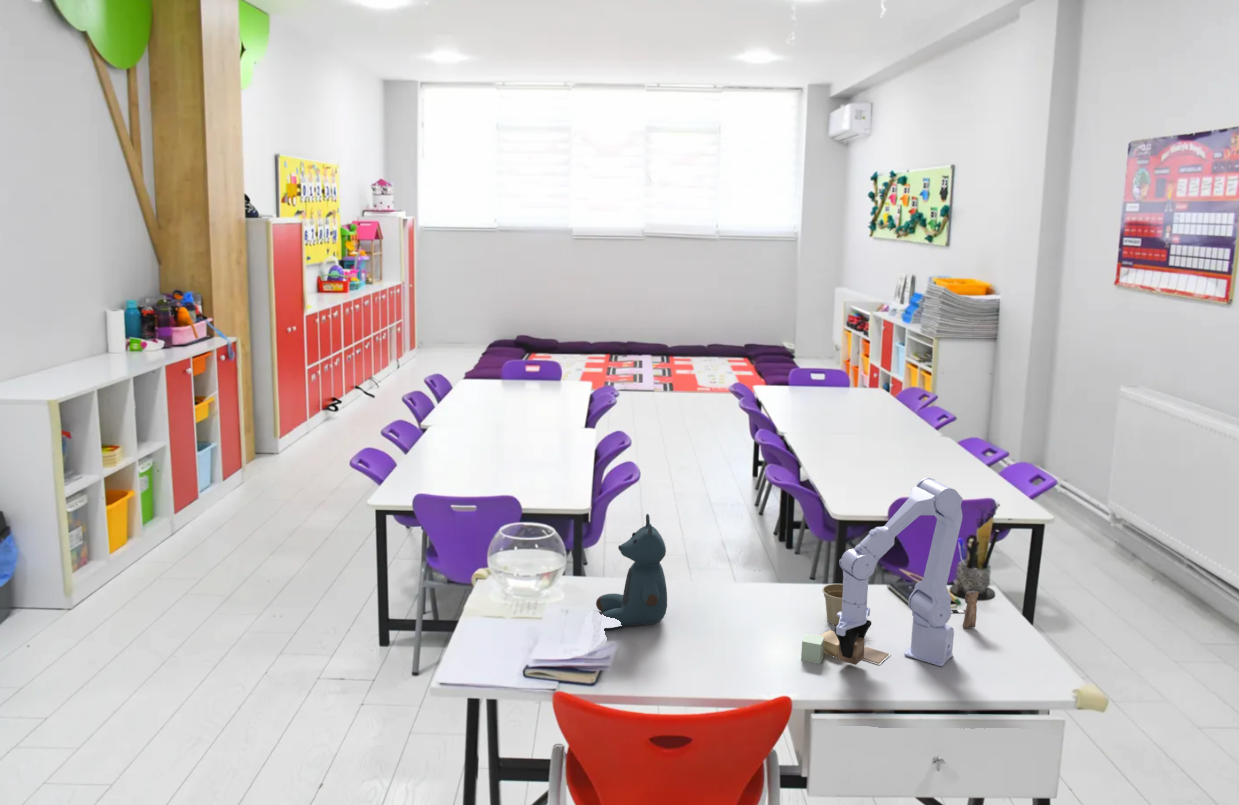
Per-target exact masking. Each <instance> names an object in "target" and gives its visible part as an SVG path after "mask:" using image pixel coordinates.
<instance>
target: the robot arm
mask: <svg viewBox="0 0 1239 805" xmlns="http://www.w3.org/2000/svg"><path fill="white" fill-rule="evenodd" d="M907 498H908V499H907V500H905V501H904V503H903V504H902V505H901V506H900V507H899V509H898V510H897V511H896V512H895V513H894V514H893V516H892V517H890V519H889V520H888V521H887V522H886V523H885V525H884V526H876V527H874V528H872V529H870V530H869V531H868V534H867V535H866V536H865V537H863V539H862V540H861V541H860V542H859V543H858V544H857V545H856V546H854V548H851V549H848V550H846V551H845V552H844V553H843V554H842V556H841V558H840V559H839V562H838V563H839V567H840V568H841V569H842V577H843V580H842V584H843V595H842V612H838V613H837V617H839V618H840V620H839V624H838V625H835V626H836V627H834V630H833V632H835V634H836V636H837V638H838V640H839V643H840V647H841V652H842V656H844V657H847V658H851V657H852V654H853V649H854V644H855V641H856V639H857V637H861V638H864V639H865V637H866V635H867V632H868V630H869V629H870V627H871V625H872V620H869V619H868V617H869V616H871V608H870V607H868V594H869V593H868V590H869V579H870V577H871V576H872V575H873V574H874V572H875V569H876V565H877V564H878V561H879V560H880V559H881V558H882V557H883V556H884V555H885V554H887V552H888V551H889V550H890V549H892V547H894V545H895V537H896V536H898V535H899V534H900V533H901V532H902V531H903V530H904V529H906V528H907V527H909V525H910V524H911V523H912V522H914V521H915V520H916V519H918V518H919V517H920V516H934V517H935V518H936V523H935V528H934V531H933V536H932V539H931V543H930V544H931V545H930V548H929V552H928V553H929V554H928V557H927V562H926V566H925V569H924V574H923V579H922V580H920V581H919V582H916V583H915V584H914V588H913V591H912V592H911V594H910V595H909V597H908V600H907V601H908V602H907V606H908V608H909V609H910V611H912V614H911V616H912V626H911V638H910V639H911V641H910V647H909V648H908V649H907V650H906V651H905V652H904V653H903V654H904V656H906V657H909V658H913V659H916V660H918V661H921V662H926V663H929V664H932V665H935V666H939V667H943V666H944V665H945V664H946V663H947V662H948V661H949V660H950V659H951V658H952V657H953V655H954V653H953V650H954V649H953V648H954V647H953V646H954V636H955V630H954V627H952V626H950V625H948V624H947V623H949V620H950V619H951V617H952V613H951V610H952V608H951V603H952V596H951V595H950V592H949V590H948V587H947V584H948V579H949V576H950V571H951V567H952V564H953V561H954V560H953V559H954V555H955V552H956V548H957V543H958V542H957V541H958V538H959V535H960V530H961V527H962V526H961V525H962V523H963V522H962V521H963V510H962V503H963V497H962V496H961V494H959V492H958V491H957V490H956V489H954V488H952V487H950V486H947V485H945V484H943V483H940V482H939V481H936V479H935V478H931V477H924V478H922V479H920V480H919V481H918V482H917V484H916V485H915V486H914V487H913V488H911V489H910V493H909V496H908V497H907Z"/></svg>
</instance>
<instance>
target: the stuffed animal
mask: <svg viewBox="0 0 1239 805" xmlns="http://www.w3.org/2000/svg"><path fill="white" fill-rule="evenodd" d="M650 520H651V518H650V514H649V513H646V515H645V525H644V526H642V527H640V528H639V529H638V530H637V531H636V532H632V534H631V537H630V538H629V539H628V540H627V541H625V542H624V543H621V545H617V546H618V547H617V548H618V550H619V551H620V554H621V555H622V556H623V557H626V558H628V559H629V560H631V561H633V563H632V565H631V566H630V567H629V569H628V570H627V574H626V579H625V583H624V589H623V594H620V593H605V594H603V595H599V597H597V599H596V602H595V605H596V608H597V609H598V611H600V612H601V614H603V615H604V616H606V617H610V618H615V619H617V620H619V621H620V622H621V625H622V626H623V627H628V626H637V625H638V626H639V625H640V626H641V625H643V626H644V625H652V624H656V623H659V622H660V621H662V620H663V619H664V617H665V615H666V614H667V608H668V590H667V581H666V576H665V572H664V569H663V566H662V564H661V561H663V559H664V558H665V557H666V554H667V553H666V552H667V549H666V543H665V540H664V539H663V537H662V536H661V534H660V532H659V531H658V529H657V528H655V527H654V526H653V525H652V524H651V522H650ZM602 611H603V612H602Z"/></svg>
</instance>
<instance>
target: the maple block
mask: <svg viewBox="0 0 1239 805" xmlns="http://www.w3.org/2000/svg"><path fill="white" fill-rule="evenodd" d="M819 636H822V637H825V638H824V654H825V653H826V654H825V655H828V656H830V655H831V656H830V657H833V656H834V657H833V658H835V657H837V658H838V654H839V640H838V638H837V636H836V634H835V632H834V630H830V629H828V630H827V631H825V632H824V633H822V634H820V635H819Z"/></svg>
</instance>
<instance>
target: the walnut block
mask: <svg viewBox="0 0 1239 805" xmlns="http://www.w3.org/2000/svg"><path fill="white" fill-rule="evenodd" d="M865 644H866V639H865V637H864V638H861V637H857V639H856V641H855V644H854V649H853V654H852V657H851V658H847V657H844V656H842V652H841V647H840V643H839V654H838V657H837V660H839V661H842V662H844V663H848V664H851V665H854V666H857V665H858V664H859V663H860V662H861V661H863V660H862V659H863V658H864V647H866V646H865Z"/></svg>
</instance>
